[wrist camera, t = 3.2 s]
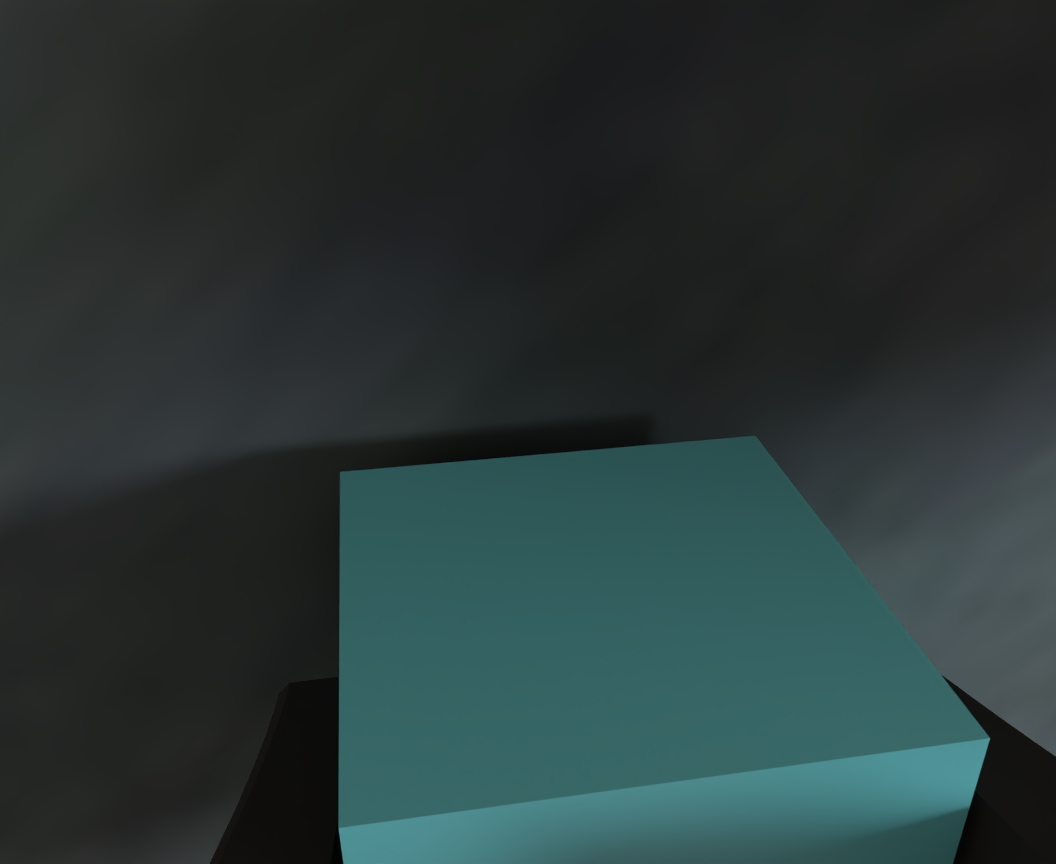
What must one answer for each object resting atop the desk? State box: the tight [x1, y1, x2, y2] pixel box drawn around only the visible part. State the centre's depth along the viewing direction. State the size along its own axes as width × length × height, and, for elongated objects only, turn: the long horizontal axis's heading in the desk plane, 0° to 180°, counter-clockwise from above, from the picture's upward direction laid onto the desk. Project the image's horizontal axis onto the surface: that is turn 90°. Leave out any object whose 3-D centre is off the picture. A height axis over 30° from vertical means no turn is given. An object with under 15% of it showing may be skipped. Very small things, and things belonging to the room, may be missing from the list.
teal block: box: [338, 436, 990, 864], centre depth 10 cm, size 4×4×4 cm
